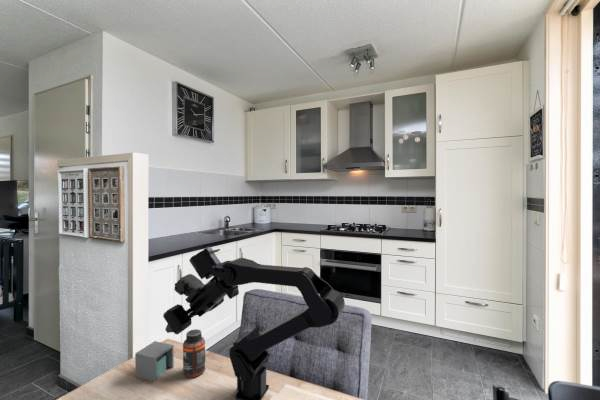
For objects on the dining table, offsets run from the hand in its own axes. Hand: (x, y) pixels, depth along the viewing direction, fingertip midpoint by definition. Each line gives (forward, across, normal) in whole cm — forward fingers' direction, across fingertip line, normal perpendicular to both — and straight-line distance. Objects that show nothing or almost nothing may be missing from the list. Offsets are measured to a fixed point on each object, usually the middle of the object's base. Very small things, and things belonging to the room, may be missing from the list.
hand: (179, 322), depth 82 cm
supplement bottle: (+6, 0, +13) cm, 15 cm away
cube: (+14, +3, +6) cm, 16 cm away
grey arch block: (+14, +3, +6) cm, 15 cm away
